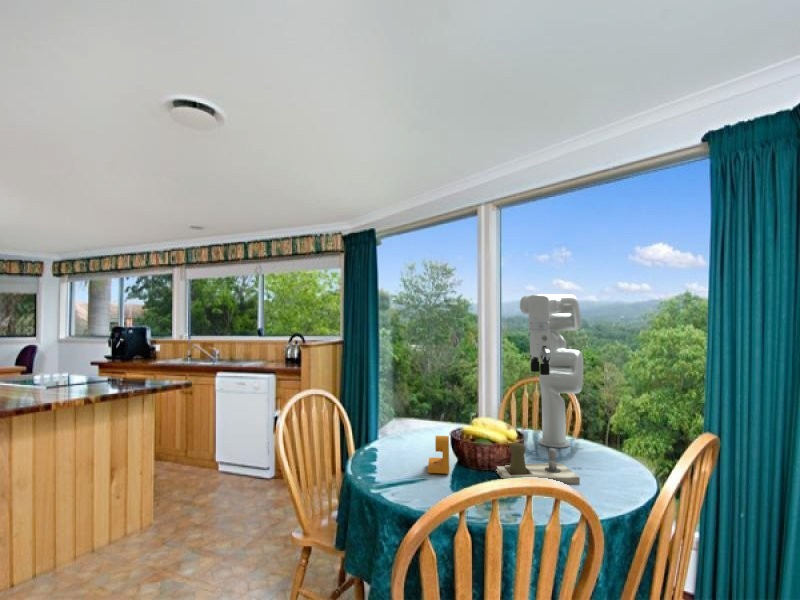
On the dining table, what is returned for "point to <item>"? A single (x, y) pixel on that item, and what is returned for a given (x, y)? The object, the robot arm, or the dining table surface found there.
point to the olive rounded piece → (517, 459)
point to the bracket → (440, 463)
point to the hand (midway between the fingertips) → (539, 373)
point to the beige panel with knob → (544, 471)
